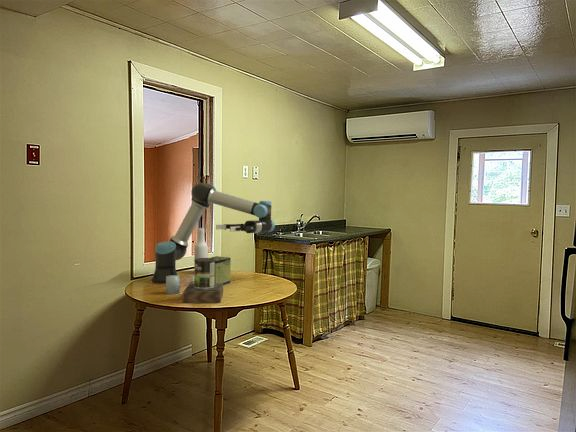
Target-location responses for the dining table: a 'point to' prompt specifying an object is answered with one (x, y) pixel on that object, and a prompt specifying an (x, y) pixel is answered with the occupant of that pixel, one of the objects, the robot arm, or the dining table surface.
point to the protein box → (221, 270)
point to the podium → (203, 294)
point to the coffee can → (204, 273)
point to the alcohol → (201, 246)
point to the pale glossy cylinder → (172, 284)
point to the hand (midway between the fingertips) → (223, 228)
